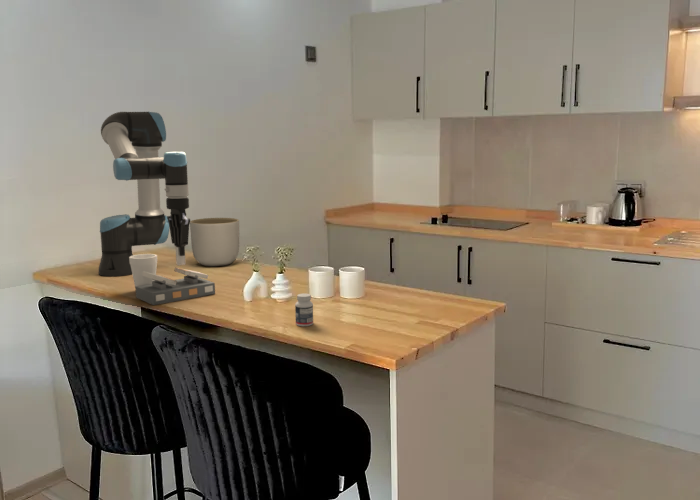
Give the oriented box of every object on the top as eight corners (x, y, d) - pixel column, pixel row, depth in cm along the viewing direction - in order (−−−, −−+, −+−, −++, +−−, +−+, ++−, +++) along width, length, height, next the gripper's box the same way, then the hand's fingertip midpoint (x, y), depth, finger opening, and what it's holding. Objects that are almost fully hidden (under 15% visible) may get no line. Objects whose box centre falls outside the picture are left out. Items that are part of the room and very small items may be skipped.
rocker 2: (173, 272, 231) (174, 267, 231) (195, 276, 237) (197, 271, 237) (184, 276, 225) (185, 270, 225) (207, 280, 231) (208, 275, 231)
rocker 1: (141, 276, 223) (142, 271, 223) (164, 282, 229) (166, 277, 229) (151, 280, 217) (153, 274, 217) (175, 286, 223) (177, 281, 223)
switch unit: (136, 297, 226) (135, 281, 225) (196, 287, 241) (195, 272, 240) (153, 305, 215) (152, 288, 214) (215, 294, 230) (214, 278, 229)
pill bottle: (295, 321, 195) (294, 293, 194) (313, 321, 196) (312, 292, 194) (295, 326, 190) (295, 297, 189) (313, 326, 191) (313, 296, 189)
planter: (235, 268, 274) (234, 223, 270) (186, 268, 274) (184, 224, 271) (244, 259, 294) (242, 217, 291) (198, 259, 294) (196, 217, 291)
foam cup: (162, 292, 233) (159, 257, 230) (135, 296, 228) (133, 259, 226) (155, 287, 241) (152, 253, 238) (129, 290, 236) (126, 255, 234)
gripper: (158, 196, 226) (162, 263, 230) (175, 199, 216) (179, 268, 220) (178, 195, 231) (182, 260, 235) (196, 197, 221) (199, 265, 225)
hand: (181, 264), depth 228 cm, fingers closed
